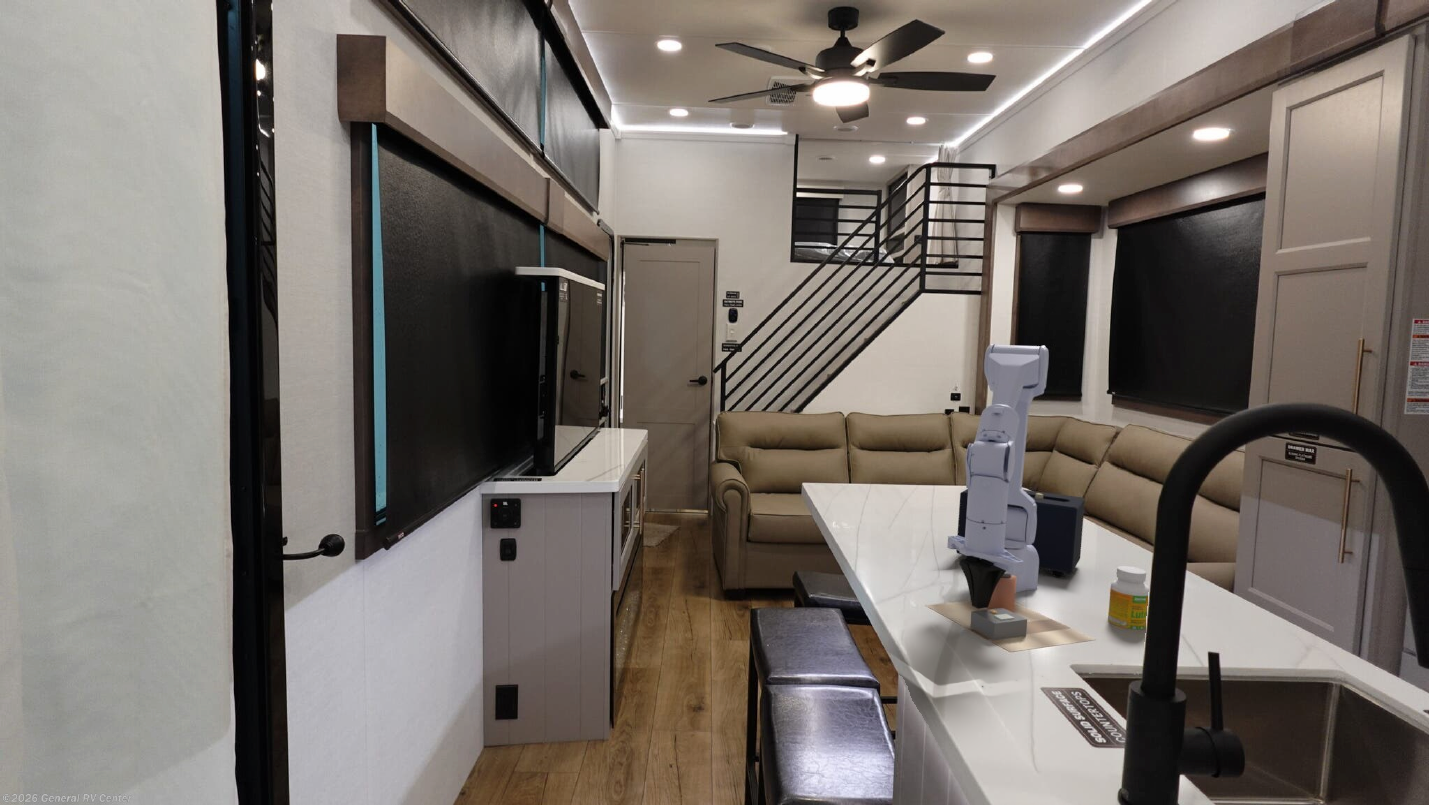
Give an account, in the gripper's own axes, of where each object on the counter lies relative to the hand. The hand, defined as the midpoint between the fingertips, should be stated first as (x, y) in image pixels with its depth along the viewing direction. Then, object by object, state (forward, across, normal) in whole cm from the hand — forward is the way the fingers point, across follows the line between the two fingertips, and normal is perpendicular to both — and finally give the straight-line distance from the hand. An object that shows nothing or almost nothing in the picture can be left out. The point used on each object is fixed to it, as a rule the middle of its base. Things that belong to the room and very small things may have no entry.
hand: (980, 606), depth 116 cm
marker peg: (+2, -2, +6) cm, 7 cm away
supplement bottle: (+4, +7, +23) cm, 25 cm away
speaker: (+4, -27, +33) cm, 43 cm away
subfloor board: (+4, +1, +4) cm, 6 cm away
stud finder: (+2, +4, 0) cm, 5 cm away
